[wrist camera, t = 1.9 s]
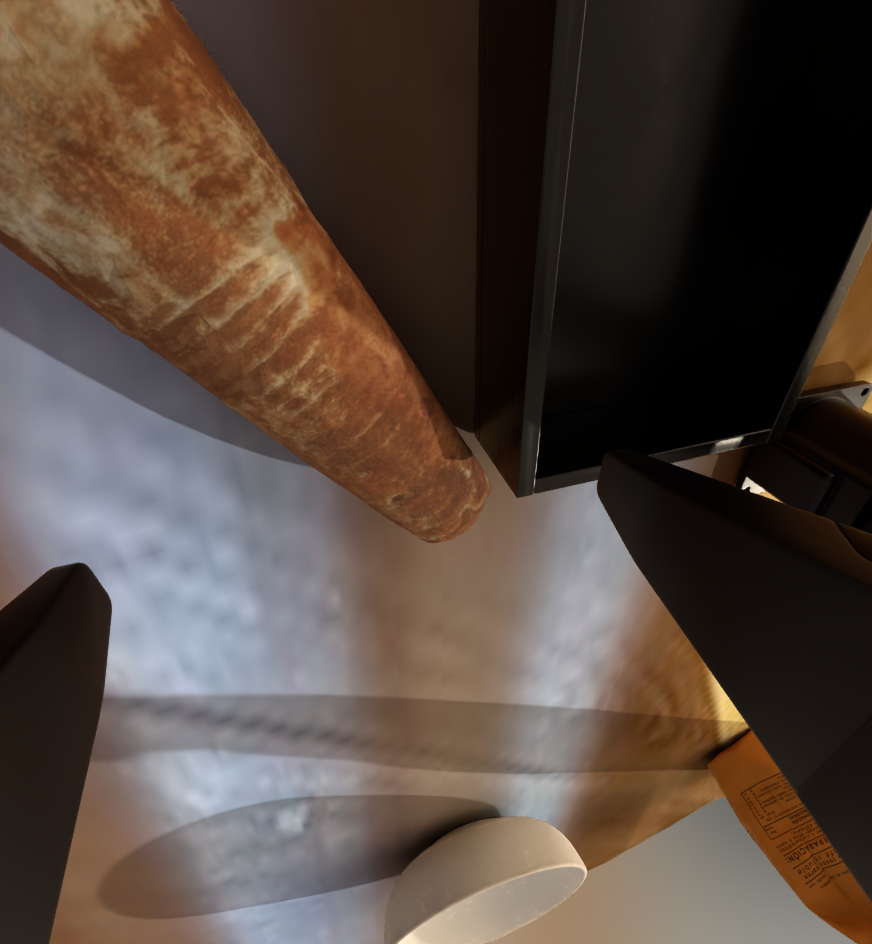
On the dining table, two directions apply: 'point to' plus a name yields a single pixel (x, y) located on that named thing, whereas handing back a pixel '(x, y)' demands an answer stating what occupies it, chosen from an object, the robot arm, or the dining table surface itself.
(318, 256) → the bread
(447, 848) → the serving bowl
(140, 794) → the dining table surface
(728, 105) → the bread tray
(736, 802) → the coffee package
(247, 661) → the dining table surface
